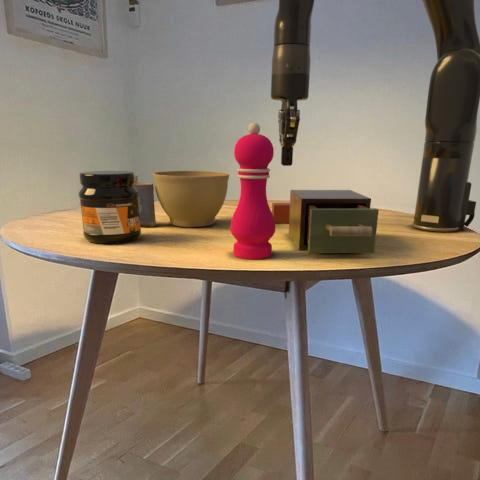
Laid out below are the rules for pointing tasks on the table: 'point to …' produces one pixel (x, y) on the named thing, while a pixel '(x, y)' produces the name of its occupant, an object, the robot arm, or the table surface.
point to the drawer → (340, 228)
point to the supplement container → (109, 206)
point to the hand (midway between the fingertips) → (286, 165)
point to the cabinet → (316, 197)
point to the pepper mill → (253, 197)
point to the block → (281, 212)
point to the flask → (146, 203)
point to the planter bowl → (191, 195)
